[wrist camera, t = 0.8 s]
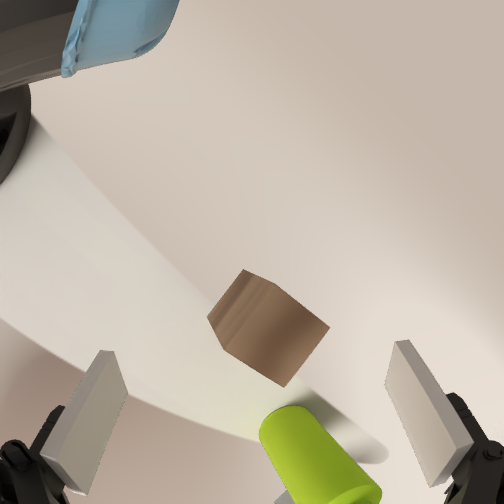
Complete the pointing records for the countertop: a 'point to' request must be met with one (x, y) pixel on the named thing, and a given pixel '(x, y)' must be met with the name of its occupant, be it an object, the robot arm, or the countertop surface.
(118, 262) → the countertop surface
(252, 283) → the brown wooden block
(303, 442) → the soap dispenser
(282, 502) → the grey rectangular block
